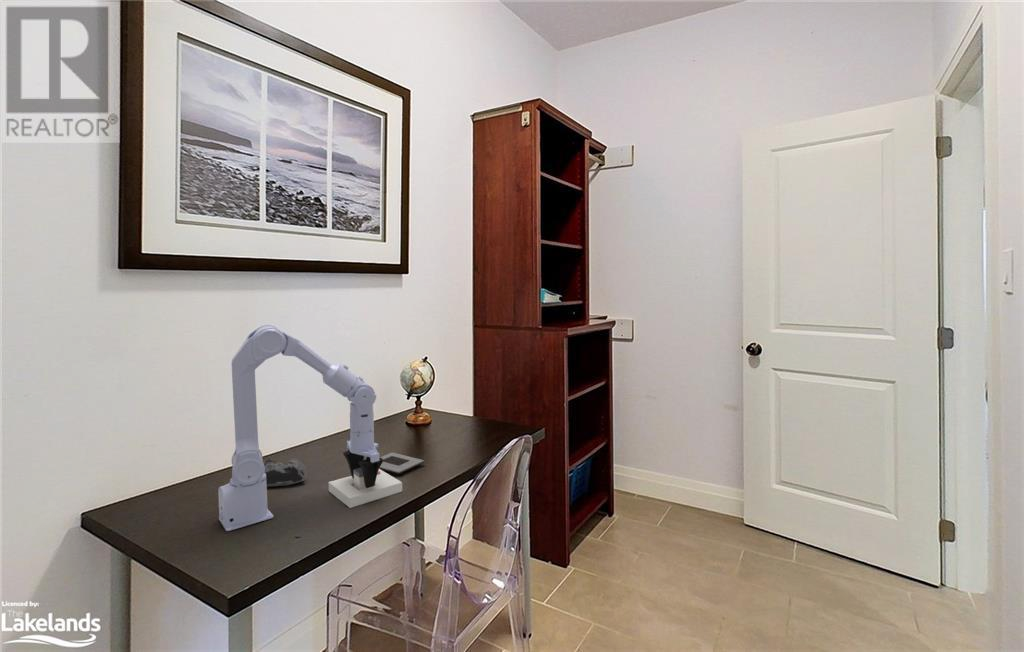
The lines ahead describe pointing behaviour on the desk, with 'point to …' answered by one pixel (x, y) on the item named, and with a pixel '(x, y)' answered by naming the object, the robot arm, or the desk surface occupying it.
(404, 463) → the electrical outlet
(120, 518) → the desk surface
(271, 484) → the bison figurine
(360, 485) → the plug
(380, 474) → the socket plate
